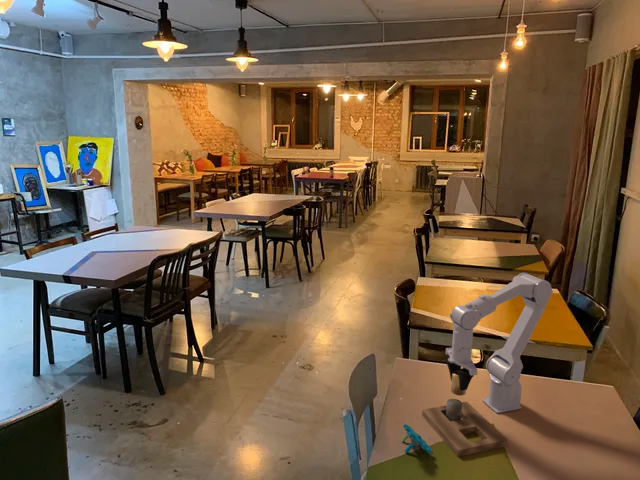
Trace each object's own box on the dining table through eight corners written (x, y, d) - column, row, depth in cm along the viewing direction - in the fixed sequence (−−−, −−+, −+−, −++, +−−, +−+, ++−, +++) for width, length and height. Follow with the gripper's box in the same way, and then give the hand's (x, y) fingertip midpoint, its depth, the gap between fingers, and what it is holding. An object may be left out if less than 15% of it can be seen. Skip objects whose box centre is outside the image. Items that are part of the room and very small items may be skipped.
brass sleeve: (460, 386, 149) (461, 369, 148) (468, 394, 145) (470, 376, 143) (448, 388, 148) (449, 371, 146) (456, 396, 143) (457, 378, 142)
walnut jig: (466, 407, 151) (467, 390, 150) (507, 445, 133) (509, 427, 131) (422, 415, 147) (423, 398, 146) (457, 456, 128) (459, 437, 127)
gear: (439, 456, 126) (414, 433, 124) (424, 472, 126) (399, 450, 124) (424, 435, 137) (400, 414, 135) (410, 451, 137) (386, 430, 135)
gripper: (438, 336, 148) (435, 375, 151) (463, 357, 135) (460, 399, 138) (457, 334, 150) (455, 372, 153) (485, 354, 137) (481, 396, 140)
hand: (458, 385), depth 146 cm, fingers closed on brass sleeve, 4 cm apart
